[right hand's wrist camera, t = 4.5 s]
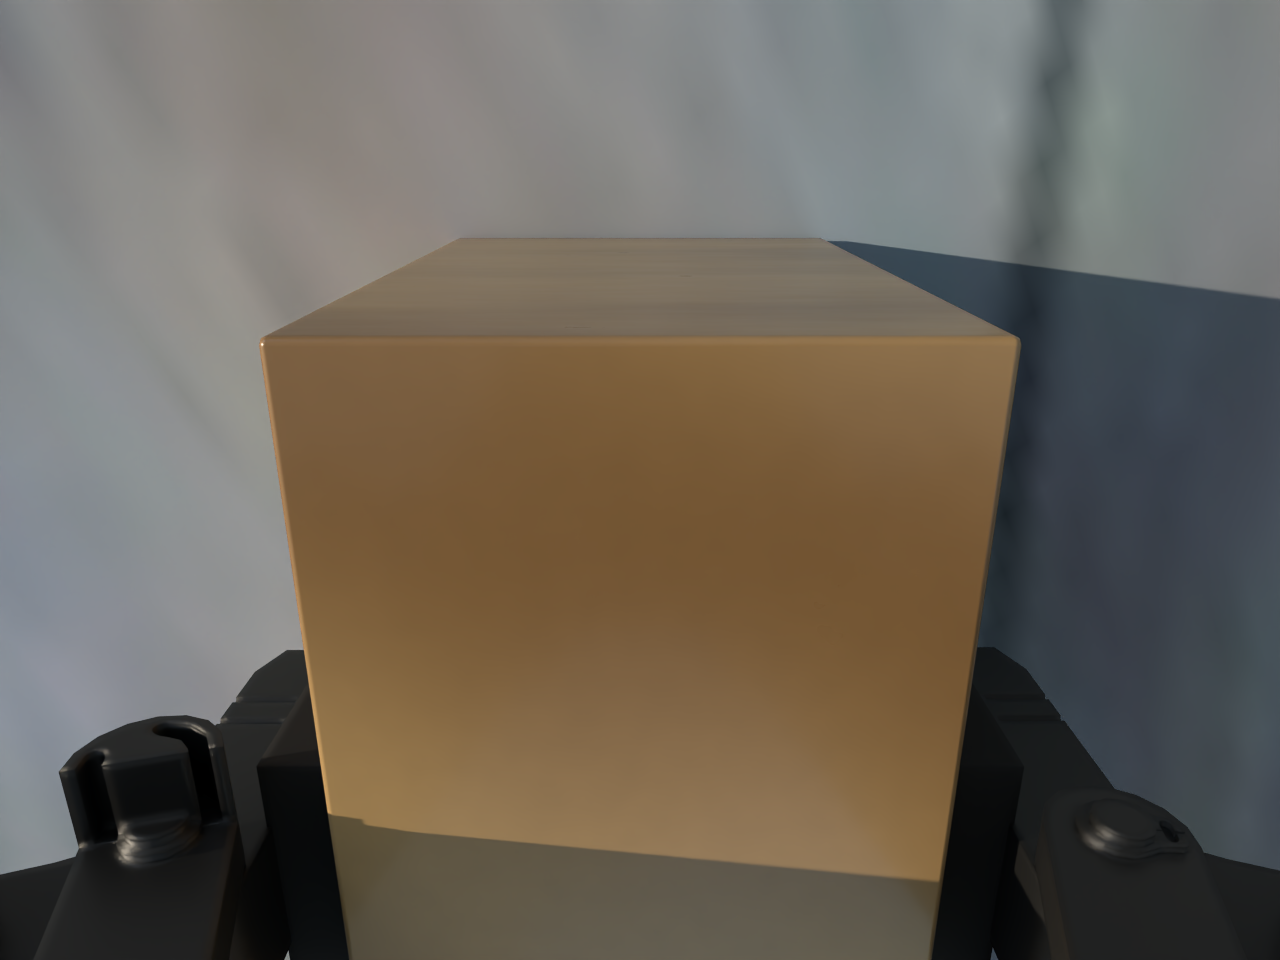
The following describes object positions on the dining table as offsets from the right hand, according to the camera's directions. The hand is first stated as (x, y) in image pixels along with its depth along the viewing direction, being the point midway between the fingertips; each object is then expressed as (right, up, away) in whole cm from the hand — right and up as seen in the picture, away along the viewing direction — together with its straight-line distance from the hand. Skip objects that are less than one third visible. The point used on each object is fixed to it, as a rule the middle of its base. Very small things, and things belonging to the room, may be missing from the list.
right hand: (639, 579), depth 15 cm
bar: (0, -32, +12) cm, 35 cm away
